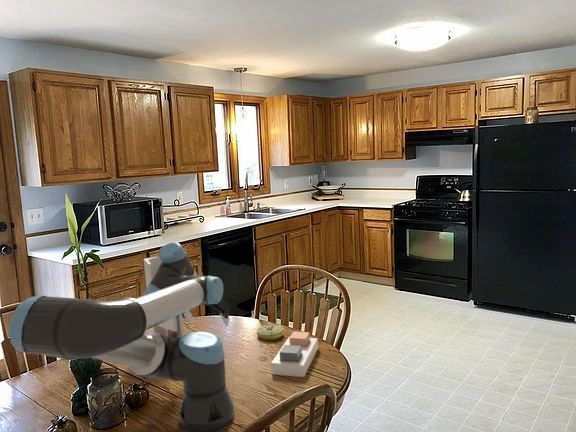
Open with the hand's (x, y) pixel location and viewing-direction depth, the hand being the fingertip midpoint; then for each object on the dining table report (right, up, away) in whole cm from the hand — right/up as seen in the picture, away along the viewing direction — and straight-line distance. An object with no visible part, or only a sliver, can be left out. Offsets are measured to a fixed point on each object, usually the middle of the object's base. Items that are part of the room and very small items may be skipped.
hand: (209, 322), depth 158 cm
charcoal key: (+28, -11, -4) cm, 30 cm away
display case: (-20, -14, +21) cm, 32 cm away
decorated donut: (+20, -12, +26) cm, 35 cm away
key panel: (+30, -14, +3) cm, 33 cm away
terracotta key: (+31, -9, +8) cm, 34 cm away
